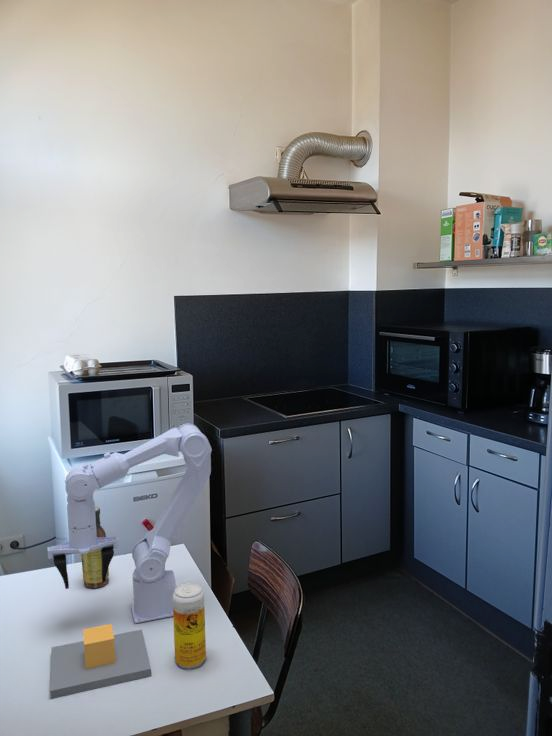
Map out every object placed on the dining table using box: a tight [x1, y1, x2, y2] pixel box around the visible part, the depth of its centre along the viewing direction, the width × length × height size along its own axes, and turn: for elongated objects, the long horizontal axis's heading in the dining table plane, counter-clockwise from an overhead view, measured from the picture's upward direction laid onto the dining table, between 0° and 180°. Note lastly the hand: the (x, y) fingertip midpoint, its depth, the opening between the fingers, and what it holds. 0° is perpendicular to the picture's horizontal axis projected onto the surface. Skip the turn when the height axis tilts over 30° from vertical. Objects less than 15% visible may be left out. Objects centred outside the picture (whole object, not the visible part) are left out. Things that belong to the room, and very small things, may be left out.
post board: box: [49, 629, 152, 699], centre depth 117 cm, size 18×14×5 cm
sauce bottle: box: [80, 505, 110, 589], centre depth 148 cm, size 6×6×20 cm
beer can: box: [172, 582, 207, 670], centre depth 117 cm, size 6×6×15 cm
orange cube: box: [82, 623, 115, 669], centre depth 117 cm, size 6×6×5 cm
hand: (85, 583), depth 131 cm, fingers open, 7 cm apart
